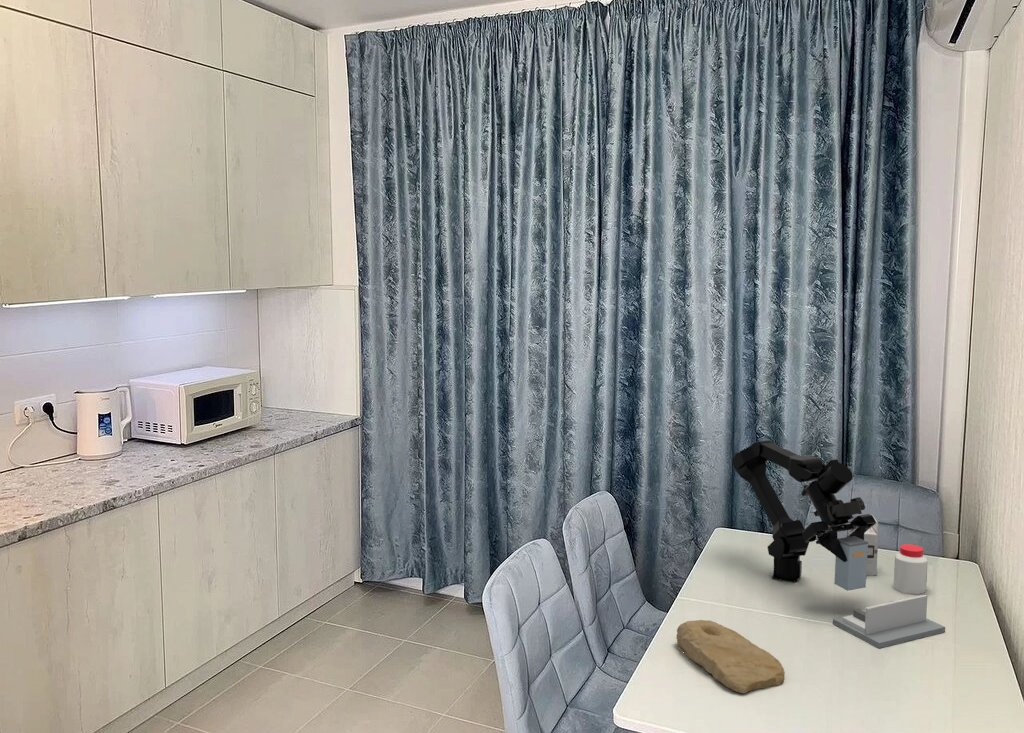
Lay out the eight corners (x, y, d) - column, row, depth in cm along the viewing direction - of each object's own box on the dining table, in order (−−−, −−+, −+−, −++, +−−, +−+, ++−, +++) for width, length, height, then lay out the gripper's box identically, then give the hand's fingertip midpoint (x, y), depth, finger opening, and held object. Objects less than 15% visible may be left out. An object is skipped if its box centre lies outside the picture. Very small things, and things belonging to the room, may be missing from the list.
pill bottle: (894, 592, 218) (895, 550, 217) (892, 581, 225) (894, 541, 224) (927, 596, 215) (929, 554, 214) (925, 585, 222) (927, 544, 221)
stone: (735, 702, 168) (737, 674, 167) (666, 643, 191) (668, 619, 190) (798, 689, 173) (800, 663, 172) (724, 634, 197) (725, 611, 196)
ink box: (851, 564, 239) (853, 513, 237) (870, 565, 238) (872, 513, 236) (857, 575, 230) (859, 522, 228) (877, 576, 229) (879, 523, 227)
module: (834, 583, 208) (836, 538, 206) (852, 580, 210) (854, 536, 208) (847, 590, 204) (850, 545, 202) (865, 587, 206) (868, 542, 204)
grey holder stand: (832, 623, 200) (833, 594, 199) (896, 609, 208) (897, 581, 207) (879, 648, 187) (880, 617, 186) (945, 631, 195) (946, 601, 194)
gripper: (811, 491, 204) (842, 550, 195) (872, 482, 211) (905, 539, 202) (789, 513, 212) (817, 570, 204) (848, 504, 219) (878, 559, 210)
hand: (855, 559), depth 205 cm, fingers closed on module, 5 cm apart
